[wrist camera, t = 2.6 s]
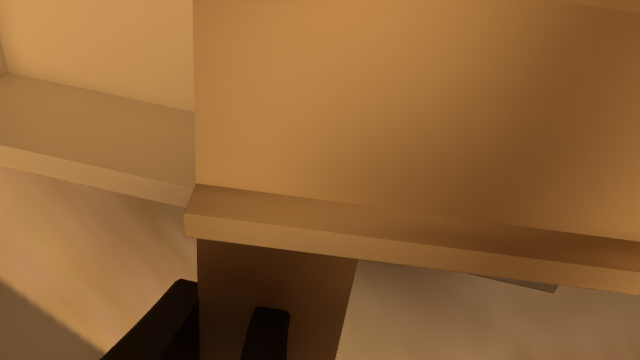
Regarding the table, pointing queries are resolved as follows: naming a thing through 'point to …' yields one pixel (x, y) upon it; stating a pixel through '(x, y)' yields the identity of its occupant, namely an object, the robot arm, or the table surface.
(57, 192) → the table surface
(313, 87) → the catapult lever
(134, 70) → the tray
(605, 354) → the table surface
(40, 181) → the table surface
